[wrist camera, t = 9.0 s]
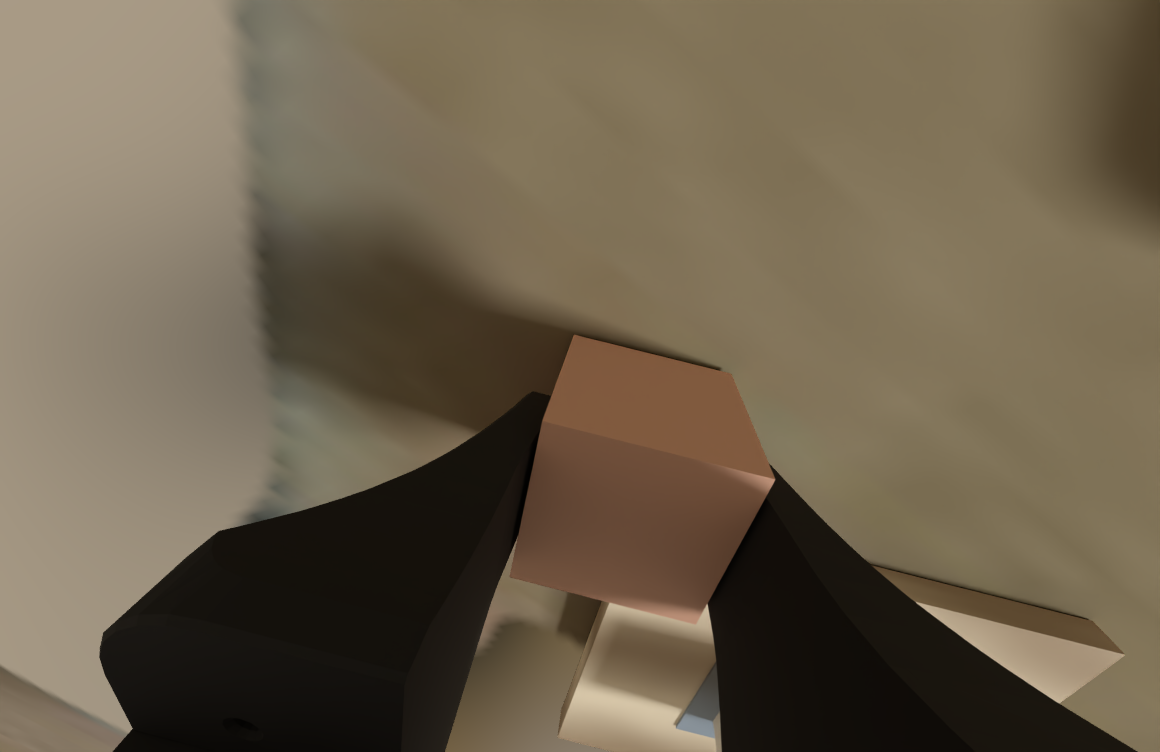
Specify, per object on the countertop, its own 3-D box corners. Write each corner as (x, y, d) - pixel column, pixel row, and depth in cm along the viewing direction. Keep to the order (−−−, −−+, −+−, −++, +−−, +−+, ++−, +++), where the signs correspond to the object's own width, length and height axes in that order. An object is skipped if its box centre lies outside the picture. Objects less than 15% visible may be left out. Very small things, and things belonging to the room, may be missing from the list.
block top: (680, 493, 13) (695, 624, 9) (545, 459, 13) (509, 577, 9) (731, 373, 11) (775, 479, 7) (573, 334, 11) (542, 420, 7)
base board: (881, 792, 19) (894, 827, 18) (561, 710, 19) (557, 740, 18) (1093, 621, 13) (1128, 658, 12) (636, 506, 13) (637, 534, 12)
